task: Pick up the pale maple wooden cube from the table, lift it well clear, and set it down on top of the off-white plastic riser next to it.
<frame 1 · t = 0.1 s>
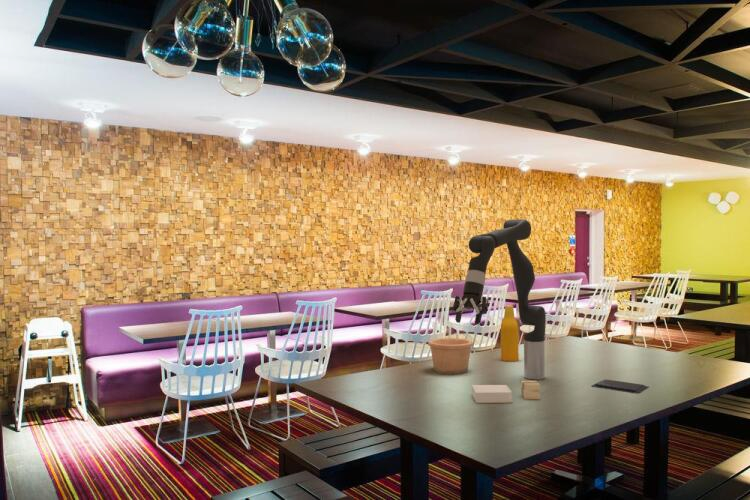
hand: (467, 323, 220), 31 cm above the table, tool tilted 20°, fingers open, 8 cm apart
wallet: (620, 388, 244), on the table
pottery: (450, 371, 280), on the table
riser: (491, 398, 228), on the table
maple cube: (530, 397, 229), on the table
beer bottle: (509, 360, 304), on the table
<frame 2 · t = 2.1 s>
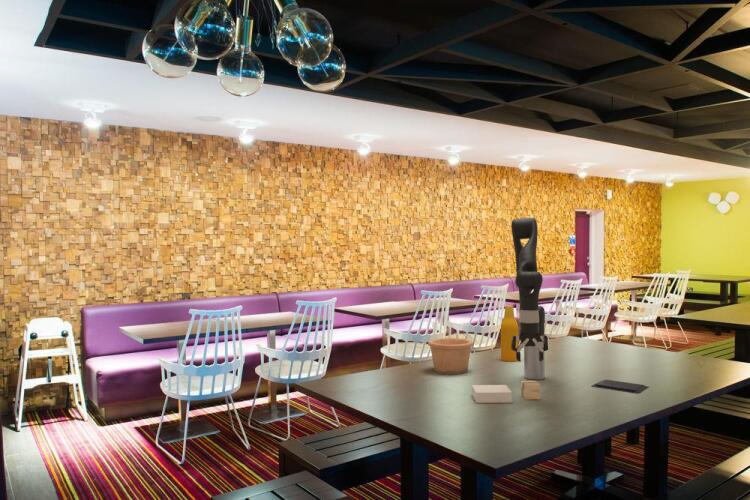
hand: (529, 361, 229), 15 cm above the table, tool pointing down, fingers open, 8 cm apart
nothing on the table moved.
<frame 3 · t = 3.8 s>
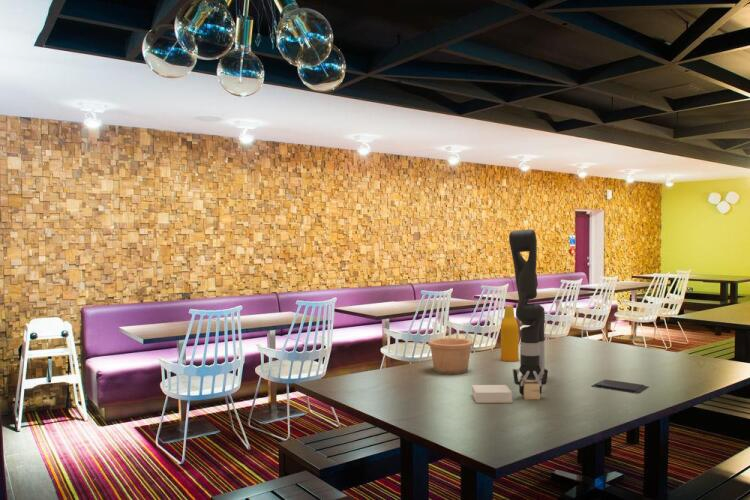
hand: (530, 394, 229), 1 cm above the table, tool pointing down, fingers closed on maple cube, 6 cm apart
maple cube: (530, 397, 229), on the table, touching gripper
everything else where it was.
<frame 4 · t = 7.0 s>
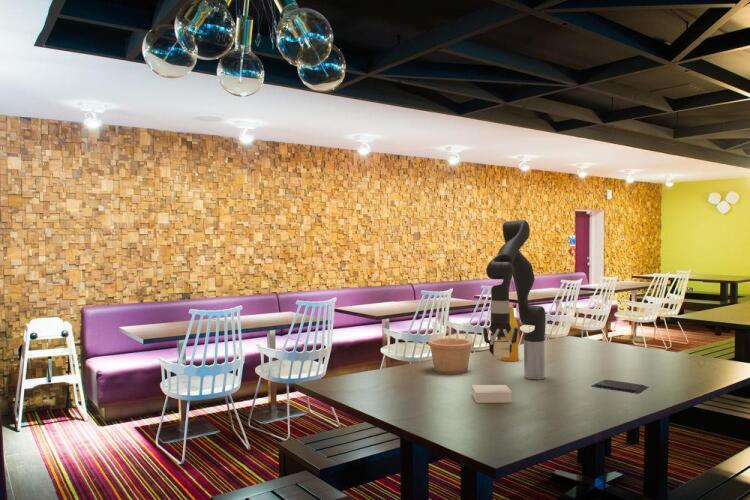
hand: (500, 353, 227), 18 cm above the table, tool pointing down, fingers closed on maple cube, 6 cm apart
maple cube: (500, 356, 227), point 17 cm above the table, touching gripper
everything else where it was.
when the fingers open (6 cm above the table, at t = 10.4 s): maple cube drops 1 cm, resting on riser.
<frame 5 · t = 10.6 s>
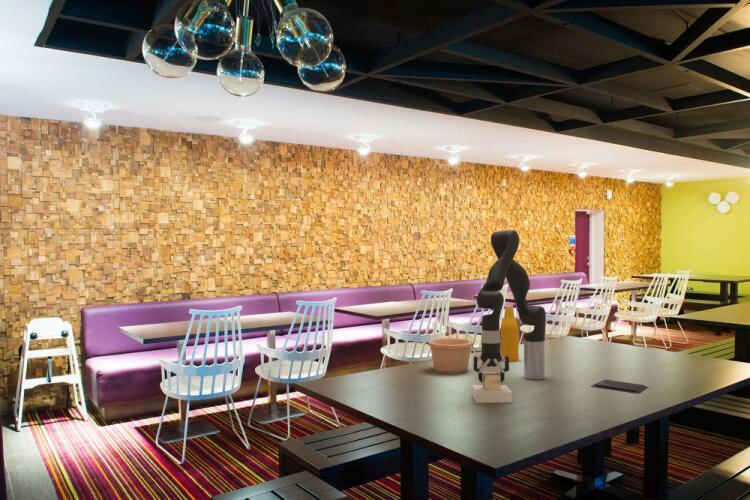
hand: (491, 381, 227), 7 cm above the table, tool pointing down, fingers open, 7 cm apart
maple cube: (491, 388, 228), point 4 cm above the table, touching riser
everything else where it was.
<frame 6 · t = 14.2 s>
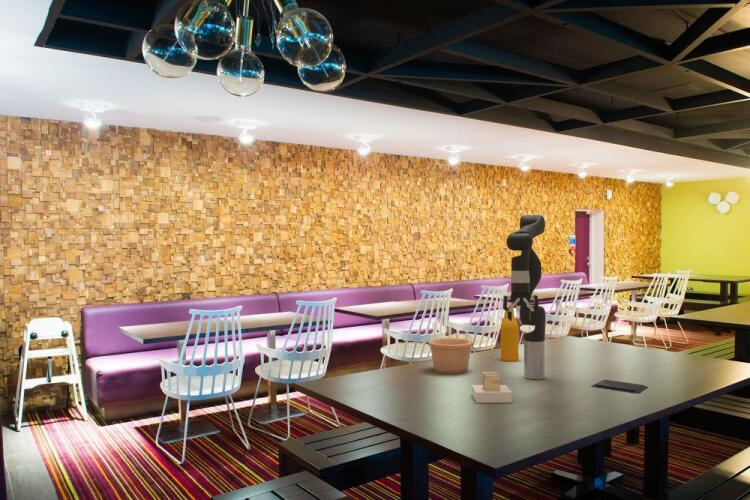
hand: (520, 320, 236), 30 cm above the table, tool pointing down, fingers open, 8 cm apart
nothing on the table moved.
at the end: maple cube inside the target area on the riser (0.0 cm from its centre), point 4.0 cm above the riser's base; maple cube tilted 0°; the gripper is holding nothing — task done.
